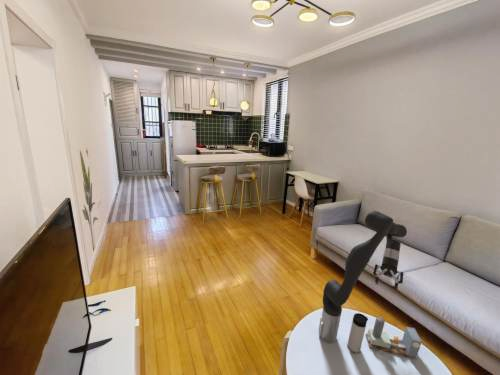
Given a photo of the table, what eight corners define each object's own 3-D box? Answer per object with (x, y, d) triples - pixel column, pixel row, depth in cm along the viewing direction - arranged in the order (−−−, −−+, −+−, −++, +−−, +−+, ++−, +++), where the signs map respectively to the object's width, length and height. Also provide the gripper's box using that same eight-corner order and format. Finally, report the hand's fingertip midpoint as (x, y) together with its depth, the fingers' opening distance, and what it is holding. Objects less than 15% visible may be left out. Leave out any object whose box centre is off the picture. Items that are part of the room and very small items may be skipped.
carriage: (371, 343, 123) (376, 324, 119) (367, 332, 130) (372, 313, 126) (389, 348, 121) (395, 328, 118) (385, 336, 128) (390, 317, 124)
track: (369, 348, 123) (370, 345, 123) (365, 335, 131) (366, 332, 130) (416, 359, 119) (417, 355, 118) (409, 345, 126) (410, 341, 126)
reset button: (395, 345, 122) (397, 340, 121) (393, 339, 125) (394, 334, 124) (402, 347, 121) (403, 341, 120) (399, 341, 125) (401, 335, 124)
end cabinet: (408, 355, 119) (412, 340, 116) (401, 341, 127) (406, 326, 124) (416, 357, 118) (421, 342, 116) (410, 343, 126) (414, 328, 123)
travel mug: (362, 354, 119) (369, 323, 114) (348, 351, 121) (355, 320, 115) (359, 344, 125) (366, 313, 120) (346, 341, 127) (352, 311, 121)
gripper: (376, 253, 134) (371, 281, 130) (406, 261, 127) (401, 291, 122) (376, 255, 140) (371, 282, 136) (405, 263, 133) (400, 292, 128)
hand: (385, 287), depth 129 cm, fingers open, 8 cm apart
